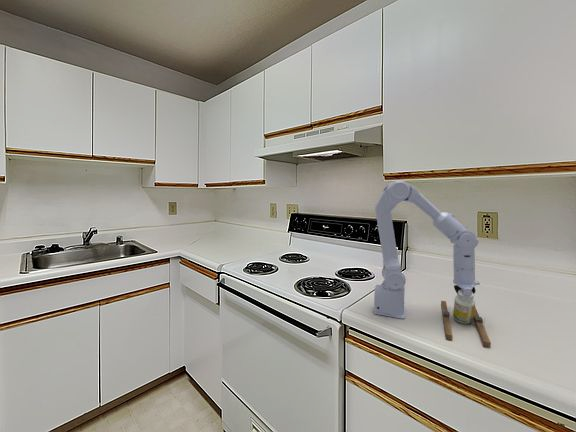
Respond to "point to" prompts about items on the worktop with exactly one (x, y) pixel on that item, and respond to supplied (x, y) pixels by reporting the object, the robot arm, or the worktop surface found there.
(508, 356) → the worktop surface
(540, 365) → the worktop surface
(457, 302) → the supplement bottle
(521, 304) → the worktop surface
